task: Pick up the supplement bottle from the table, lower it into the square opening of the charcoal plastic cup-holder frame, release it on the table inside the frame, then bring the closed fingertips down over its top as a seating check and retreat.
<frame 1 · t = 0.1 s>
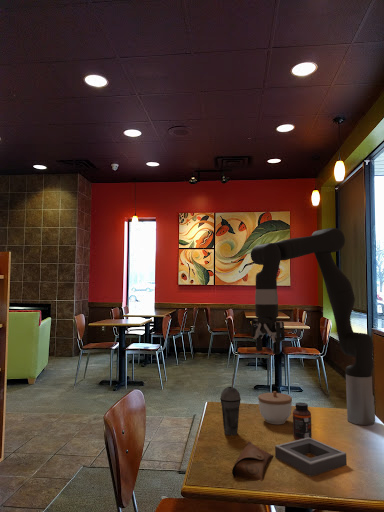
hand: (267, 352, 128), 29 cm above the table, tool pointing down, fingers open, 8 cm apart
beverage cup: (230, 433, 135), on the table
holder block: (310, 461, 113), on the table
lidded bowl: (275, 422, 148), on the table
sunglasses case: (253, 467, 110), on the table
supplement bottle: (302, 439, 130), on the table
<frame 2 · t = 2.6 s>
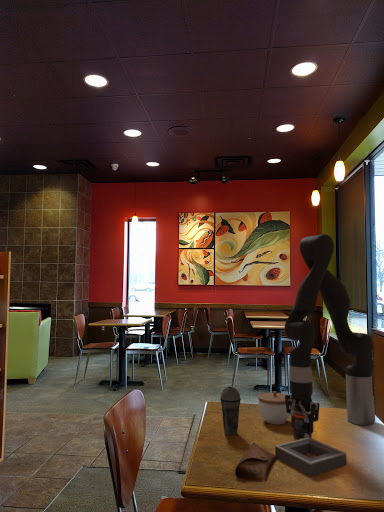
hand: (302, 430, 130), 3 cm above the table, tool pointing down, fingers closed on supplement bottle, 6 cm apart
sunglasses case: (257, 468, 109), on the table
supplement bottle: (302, 439, 130), on the table, touching gripper
everything else where it was.
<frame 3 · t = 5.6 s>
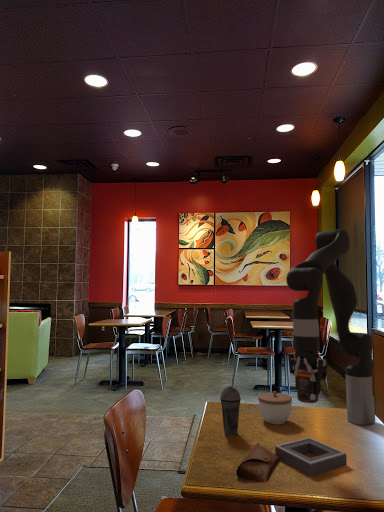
hand: (307, 391, 115), 20 cm above the table, tool pointing down, fingers closed on supplement bottle, 6 cm apart
supplement bottle: (307, 401, 114), point 17 cm above the table, touching gripper
when the fingers open (4 cm above the table, at t = 8.3 s): supplement bottle drops 1 cm, resting in holder block.
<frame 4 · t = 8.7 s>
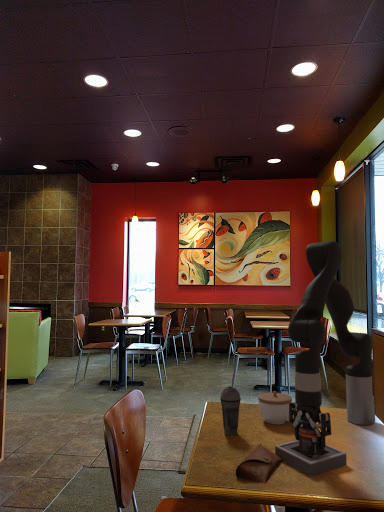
hand: (309, 444, 113), 5 cm above the table, tool pointing down, fingers open, 8 cm apart
supplement bottle: (310, 461, 113), resting in holder block
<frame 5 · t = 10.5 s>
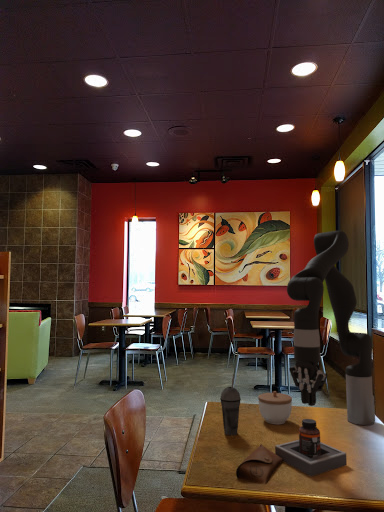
hand: (308, 404, 114), 16 cm above the table, tool pointing down, fingers closed
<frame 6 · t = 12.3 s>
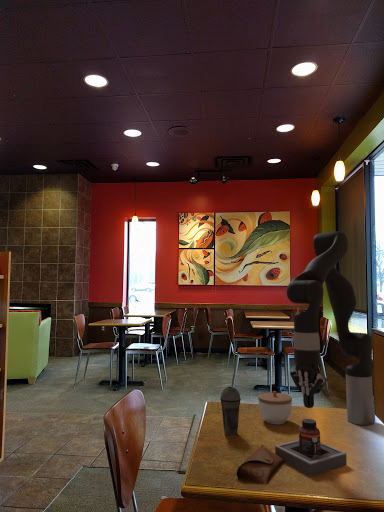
hand: (308, 407, 114), 15 cm above the table, tool pointing down, fingers closed
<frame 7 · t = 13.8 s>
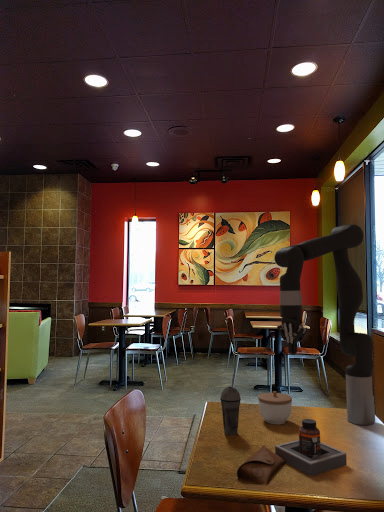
hand: (292, 353, 135), 28 cm above the table, tool pointing down, fingers closed
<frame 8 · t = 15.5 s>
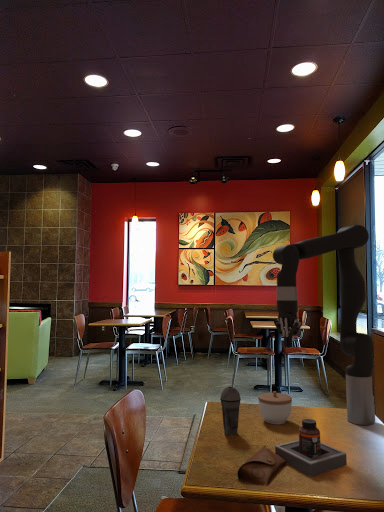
hand: (288, 347, 141), 29 cm above the table, tool pointing down, fingers closed
at the end: supplement bottle 0.1 cm from the holder block (horizontally); supplement bottle resting in holder block; supplement bottle tilted 0° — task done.
